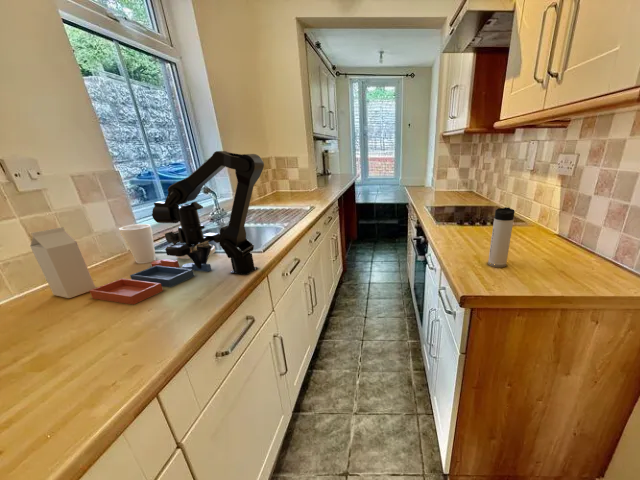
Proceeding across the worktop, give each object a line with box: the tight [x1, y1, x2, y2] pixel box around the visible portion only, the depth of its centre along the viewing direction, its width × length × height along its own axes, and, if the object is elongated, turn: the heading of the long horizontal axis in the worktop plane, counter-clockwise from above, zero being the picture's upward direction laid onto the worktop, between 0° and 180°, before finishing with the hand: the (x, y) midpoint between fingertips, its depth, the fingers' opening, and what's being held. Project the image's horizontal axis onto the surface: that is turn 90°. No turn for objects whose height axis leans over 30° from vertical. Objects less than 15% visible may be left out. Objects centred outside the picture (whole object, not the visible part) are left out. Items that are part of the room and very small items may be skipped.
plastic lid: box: [175, 245, 216, 260], centre depth 126 cm, size 14×14×2 cm
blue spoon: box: [181, 262, 212, 273], centre depth 112 cm, size 11×5×2 cm, turn 75°
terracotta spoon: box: [150, 258, 181, 268], centre depth 115 cm, size 11×5×2 cm, turn 75°
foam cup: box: [118, 223, 157, 264], centre depth 119 cm, size 10×9×13 cm
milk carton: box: [29, 226, 97, 299], centre depth 91 cm, size 7×7×19 cm
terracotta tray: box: [89, 277, 164, 305], centre depth 93 cm, size 15×9×2 cm, turn 75°
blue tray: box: [129, 265, 195, 288], centre depth 104 cm, size 15×9×2 cm, turn 75°
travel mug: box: [487, 206, 516, 269], centre depth 111 cm, size 6×7×20 cm
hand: (201, 267), depth 111 cm, fingers closed on blue spoon, 2 cm apart
